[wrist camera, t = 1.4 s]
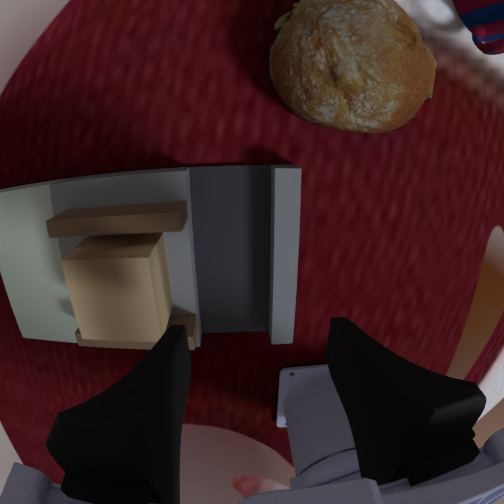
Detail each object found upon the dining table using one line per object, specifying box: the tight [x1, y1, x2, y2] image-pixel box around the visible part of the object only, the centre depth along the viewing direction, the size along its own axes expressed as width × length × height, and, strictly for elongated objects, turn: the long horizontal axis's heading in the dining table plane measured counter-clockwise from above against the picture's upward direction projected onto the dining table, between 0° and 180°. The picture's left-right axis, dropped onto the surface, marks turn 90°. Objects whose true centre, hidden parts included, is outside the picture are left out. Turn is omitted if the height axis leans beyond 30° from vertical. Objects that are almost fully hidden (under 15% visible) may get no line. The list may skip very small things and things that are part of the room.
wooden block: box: [61, 232, 173, 342], centre depth 17 cm, size 5×5×4 cm
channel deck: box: [0, 165, 301, 350], centre depth 19 cm, size 22×12×4 cm, turn 90°
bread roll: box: [269, 0, 437, 134], centre depth 15 cm, size 10×10×8 cm
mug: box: [453, 0, 504, 55], centre depth 12 cm, size 7×10×7 cm
